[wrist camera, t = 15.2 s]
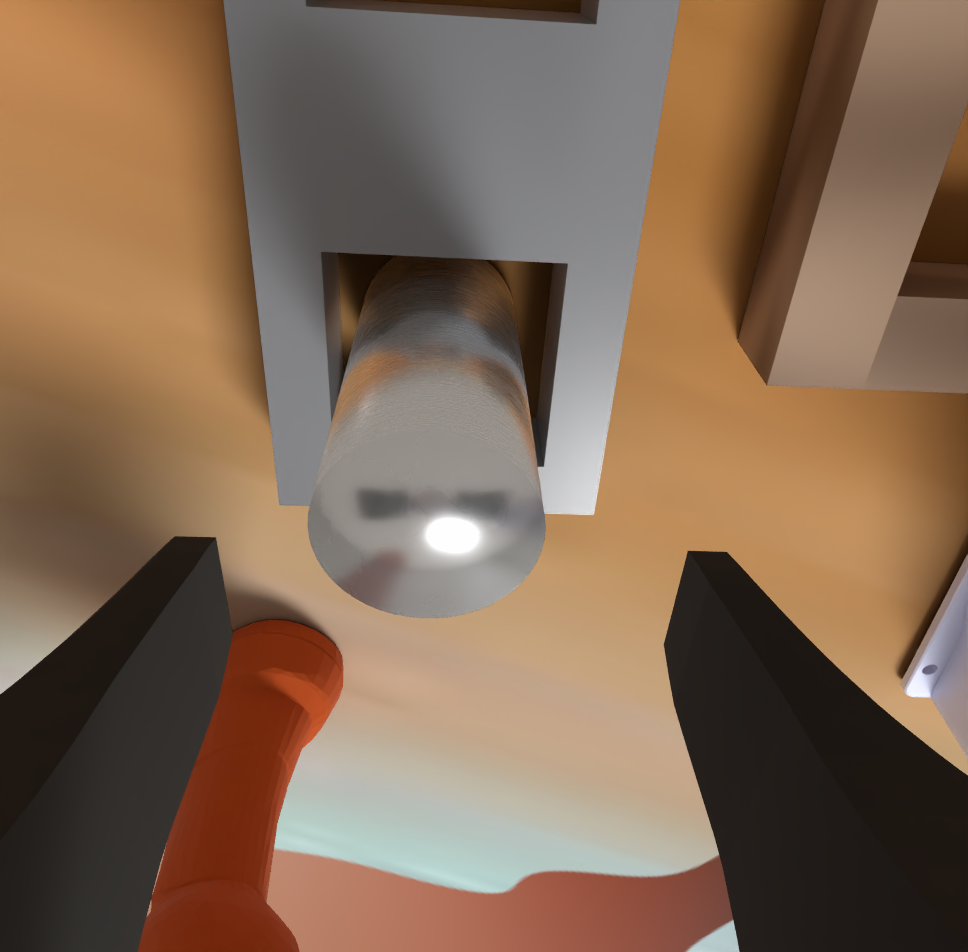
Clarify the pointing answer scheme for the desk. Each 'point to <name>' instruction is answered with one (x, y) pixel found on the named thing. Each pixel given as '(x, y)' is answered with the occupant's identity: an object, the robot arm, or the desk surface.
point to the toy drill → (242, 794)
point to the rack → (447, 187)
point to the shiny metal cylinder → (431, 447)
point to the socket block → (866, 209)
